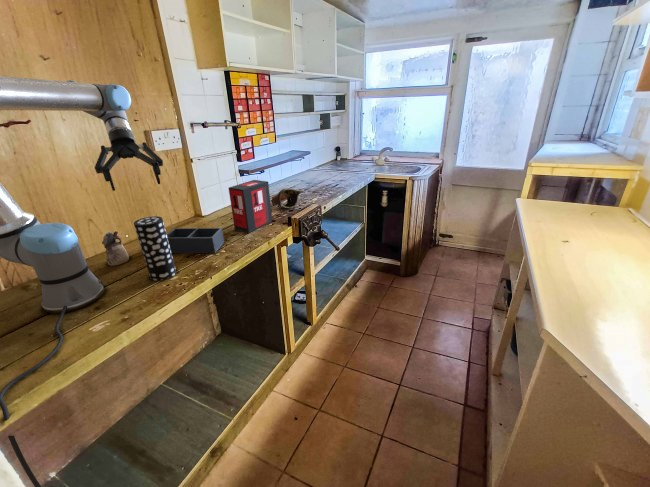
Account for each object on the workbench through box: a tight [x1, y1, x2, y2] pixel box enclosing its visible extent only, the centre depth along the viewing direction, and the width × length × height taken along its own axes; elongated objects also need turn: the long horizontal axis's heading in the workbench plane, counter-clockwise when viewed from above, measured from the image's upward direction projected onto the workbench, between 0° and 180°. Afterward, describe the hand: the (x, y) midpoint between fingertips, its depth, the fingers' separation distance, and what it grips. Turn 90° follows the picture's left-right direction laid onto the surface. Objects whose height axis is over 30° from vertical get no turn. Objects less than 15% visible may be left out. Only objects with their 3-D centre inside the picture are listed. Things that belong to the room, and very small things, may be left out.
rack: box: [166, 227, 225, 254], centre depth 127 cm, size 11×20×7 cm, turn 87°
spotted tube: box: [133, 215, 177, 282], centre depth 105 cm, size 8×8×20 cm
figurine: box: [101, 230, 130, 267], centre depth 117 cm, size 7×7×12 cm
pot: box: [271, 187, 303, 209], centre depth 177 cm, size 17×11×18 cm
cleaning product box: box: [228, 179, 273, 234], centre depth 146 cm, size 16×9×20 cm, turn 149°
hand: (136, 185), depth 105 cm, fingers open, 13 cm apart
